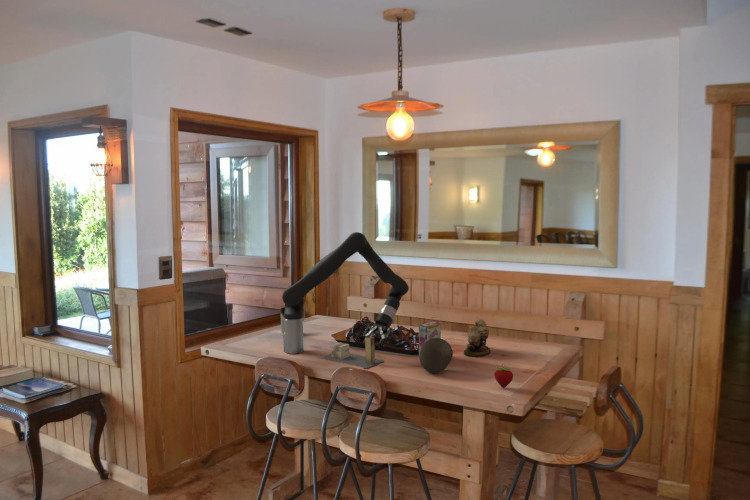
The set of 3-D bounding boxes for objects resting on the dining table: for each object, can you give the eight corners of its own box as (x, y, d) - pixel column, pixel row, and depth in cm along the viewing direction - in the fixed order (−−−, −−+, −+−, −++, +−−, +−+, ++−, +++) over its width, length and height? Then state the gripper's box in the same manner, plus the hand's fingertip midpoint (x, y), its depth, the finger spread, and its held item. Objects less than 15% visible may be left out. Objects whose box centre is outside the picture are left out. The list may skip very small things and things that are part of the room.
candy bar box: (426, 360, 265) (426, 326, 263) (418, 358, 268) (418, 324, 267) (441, 355, 273) (441, 322, 271) (433, 353, 276) (433, 320, 275)
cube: (331, 357, 271) (331, 345, 270) (339, 354, 276) (339, 342, 275) (341, 359, 267) (340, 347, 267) (349, 356, 272) (349, 344, 271)
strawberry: (511, 391, 221) (511, 367, 220) (492, 389, 225) (492, 364, 224) (514, 387, 227) (514, 362, 226) (496, 384, 230) (496, 360, 229)
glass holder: (279, 333, 323) (278, 307, 322) (304, 331, 328) (303, 305, 326) (281, 336, 315) (280, 310, 314) (306, 334, 319) (306, 308, 318)
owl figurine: (472, 346, 288) (472, 314, 286) (494, 350, 282) (495, 316, 281) (459, 355, 273) (459, 320, 271) (482, 358, 267) (483, 323, 265)
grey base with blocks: (319, 359, 270) (319, 333, 269) (338, 352, 281) (338, 327, 280) (366, 369, 253) (365, 341, 252) (384, 361, 264) (384, 335, 263)
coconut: (429, 379, 238) (429, 344, 237) (414, 369, 251) (414, 336, 250) (458, 374, 244) (458, 340, 243) (441, 365, 257) (441, 333, 256)
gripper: (370, 310, 271) (356, 339, 263) (395, 314, 263) (380, 343, 255) (377, 319, 276) (363, 347, 268) (401, 323, 267) (387, 352, 259)
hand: (371, 345), depth 261 cm, fingers open, 8 cm apart
